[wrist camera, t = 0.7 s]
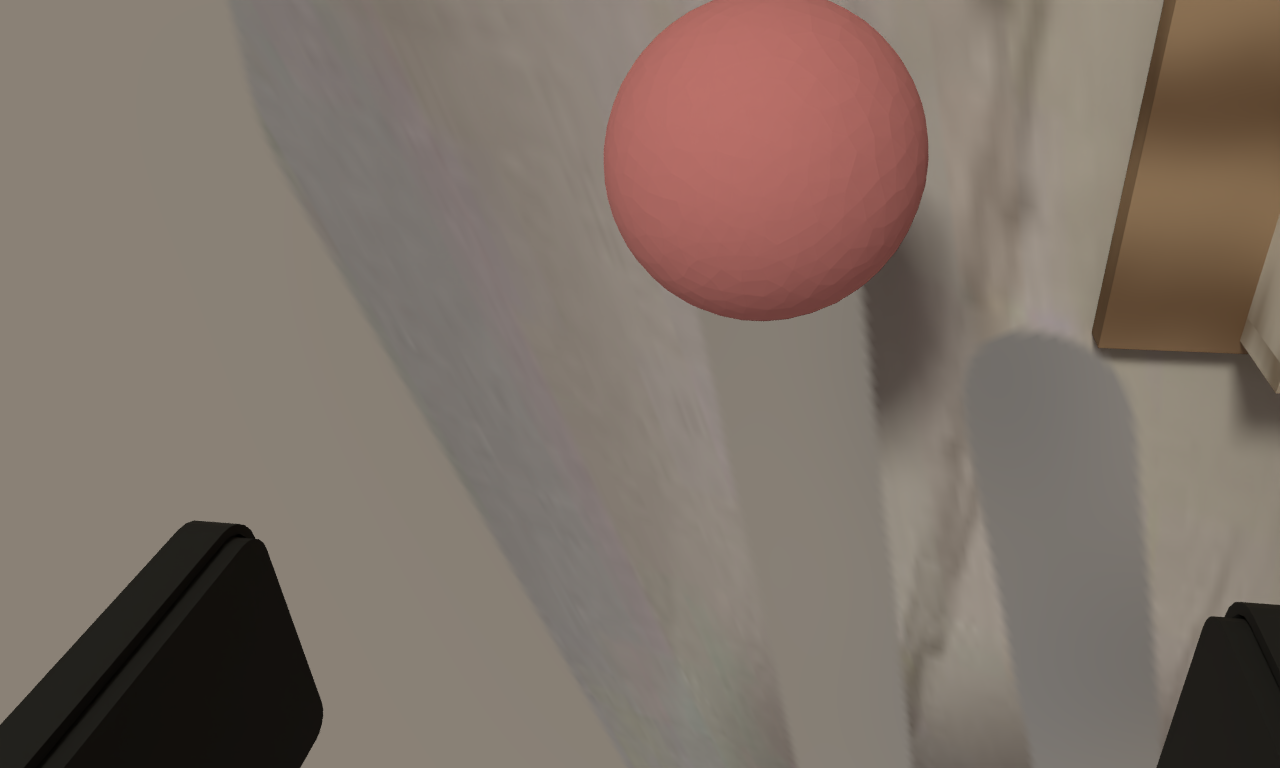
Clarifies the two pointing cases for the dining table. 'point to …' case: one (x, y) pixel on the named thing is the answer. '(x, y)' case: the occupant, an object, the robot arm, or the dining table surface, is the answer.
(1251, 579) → the dining table surface
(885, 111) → the light bulb
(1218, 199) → the bulb holder
